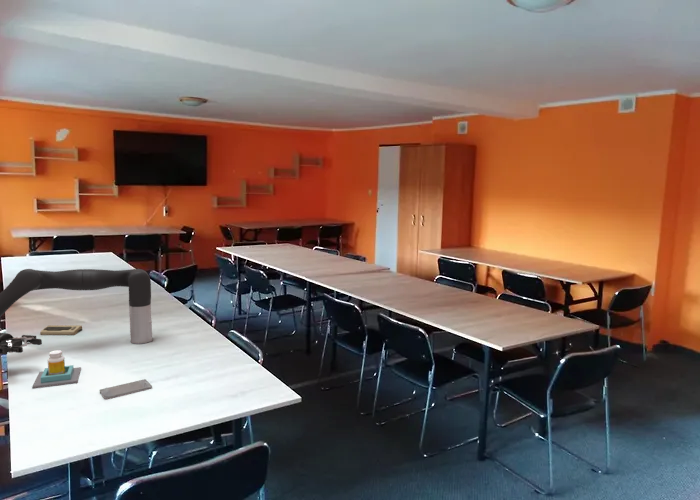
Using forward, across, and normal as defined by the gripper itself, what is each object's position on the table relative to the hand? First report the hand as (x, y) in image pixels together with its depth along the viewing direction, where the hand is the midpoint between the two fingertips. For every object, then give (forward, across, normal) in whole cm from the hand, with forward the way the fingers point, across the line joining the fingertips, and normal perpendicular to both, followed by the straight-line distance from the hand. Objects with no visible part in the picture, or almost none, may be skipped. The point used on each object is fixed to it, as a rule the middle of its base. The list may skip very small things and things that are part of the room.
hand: (31, 345), depth 184 cm
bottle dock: (+11, 0, +12) cm, 16 cm away
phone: (+41, -3, +13) cm, 43 cm away
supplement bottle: (+11, 0, +11) cm, 15 cm away
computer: (-29, +45, +12) cm, 55 cm away
